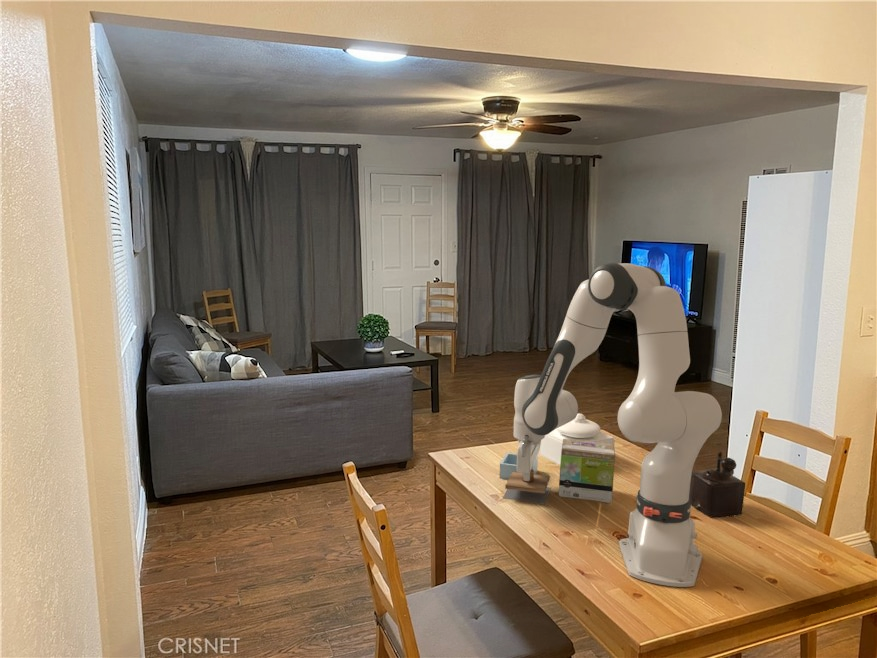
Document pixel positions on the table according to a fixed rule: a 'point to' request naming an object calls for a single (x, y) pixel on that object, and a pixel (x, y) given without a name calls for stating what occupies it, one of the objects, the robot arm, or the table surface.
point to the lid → (528, 482)
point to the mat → (527, 496)
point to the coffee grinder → (717, 490)
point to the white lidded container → (571, 437)
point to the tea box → (587, 470)
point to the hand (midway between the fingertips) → (528, 477)
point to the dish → (512, 465)
